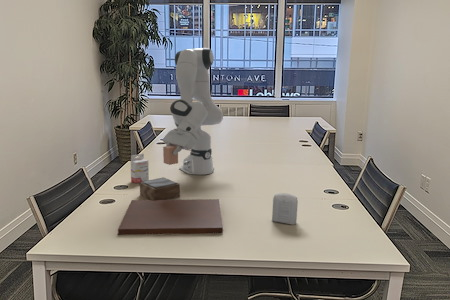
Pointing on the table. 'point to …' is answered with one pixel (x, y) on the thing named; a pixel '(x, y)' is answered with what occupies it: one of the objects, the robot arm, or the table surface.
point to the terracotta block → (170, 155)
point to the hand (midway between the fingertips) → (169, 153)
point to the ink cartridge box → (139, 169)
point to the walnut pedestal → (159, 189)
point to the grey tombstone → (285, 208)
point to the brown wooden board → (172, 217)
